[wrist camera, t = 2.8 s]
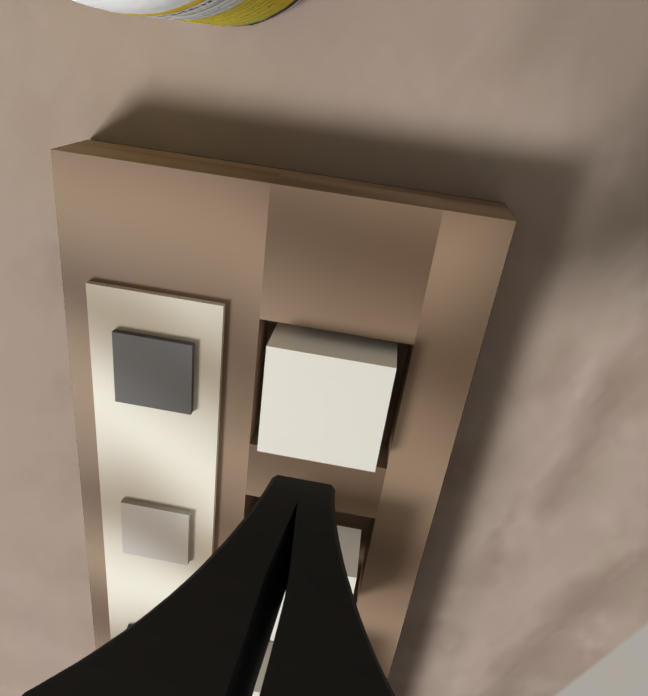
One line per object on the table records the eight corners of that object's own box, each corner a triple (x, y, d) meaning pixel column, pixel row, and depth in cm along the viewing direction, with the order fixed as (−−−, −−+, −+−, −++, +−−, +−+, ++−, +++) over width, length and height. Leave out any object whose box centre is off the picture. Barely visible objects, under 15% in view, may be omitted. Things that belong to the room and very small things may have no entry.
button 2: (378, 433, 19) (374, 472, 17) (270, 414, 19) (257, 450, 18) (397, 336, 17) (396, 368, 16) (280, 316, 18) (266, 346, 16)
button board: (364, 725, 28) (360, 782, 25) (121, 675, 28) (97, 726, 26) (504, 202, 16) (519, 225, 14) (88, 139, 17) (41, 151, 15)
